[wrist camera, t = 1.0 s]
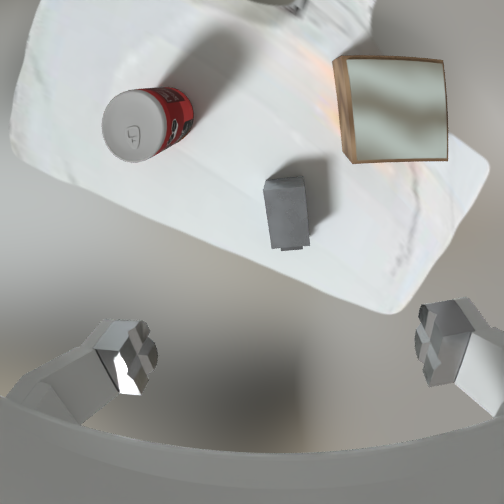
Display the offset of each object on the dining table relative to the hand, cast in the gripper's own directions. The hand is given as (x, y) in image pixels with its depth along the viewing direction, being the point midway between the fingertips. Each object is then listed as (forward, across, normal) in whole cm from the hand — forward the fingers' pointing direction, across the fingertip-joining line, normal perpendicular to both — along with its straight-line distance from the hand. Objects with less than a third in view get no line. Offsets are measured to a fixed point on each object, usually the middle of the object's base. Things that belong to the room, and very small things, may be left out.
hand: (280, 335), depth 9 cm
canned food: (+34, +15, -9) cm, 38 cm away
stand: (+34, -13, -7) cm, 37 cm away
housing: (+35, +1, +6) cm, 36 cm away
